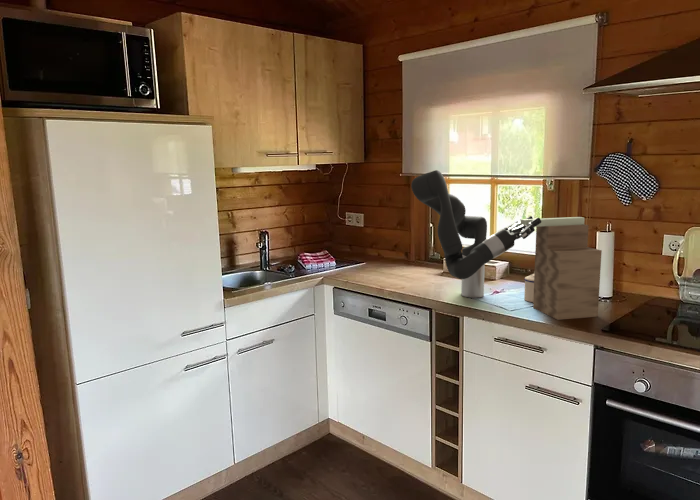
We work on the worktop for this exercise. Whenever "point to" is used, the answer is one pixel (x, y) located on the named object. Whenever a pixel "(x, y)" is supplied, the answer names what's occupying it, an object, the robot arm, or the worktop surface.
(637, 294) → the worktop surface
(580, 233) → the brown wooden tall block
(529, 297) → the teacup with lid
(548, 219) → the sage slat
